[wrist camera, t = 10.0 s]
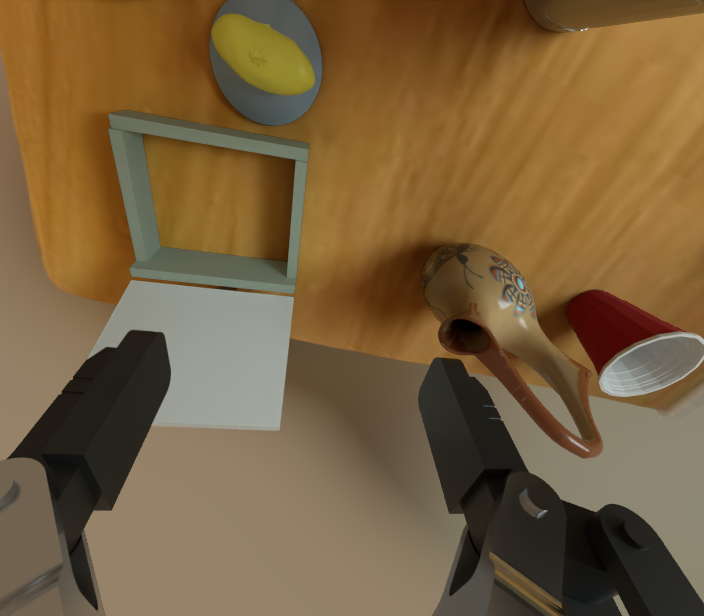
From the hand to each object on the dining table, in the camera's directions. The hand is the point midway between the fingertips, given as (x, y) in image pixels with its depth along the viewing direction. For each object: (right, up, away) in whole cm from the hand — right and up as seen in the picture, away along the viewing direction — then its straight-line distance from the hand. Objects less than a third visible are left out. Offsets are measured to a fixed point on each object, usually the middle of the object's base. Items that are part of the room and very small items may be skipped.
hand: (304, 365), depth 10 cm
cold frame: (-12, +13, +24) cm, 30 cm away
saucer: (-6, +22, +18) cm, 29 cm away
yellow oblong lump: (-5, +22, +17) cm, 28 cm away
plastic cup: (+34, +2, +36) cm, 50 cm away
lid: (-12, -2, +20) cm, 23 cm away
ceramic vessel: (+14, +7, +31) cm, 35 cm away
